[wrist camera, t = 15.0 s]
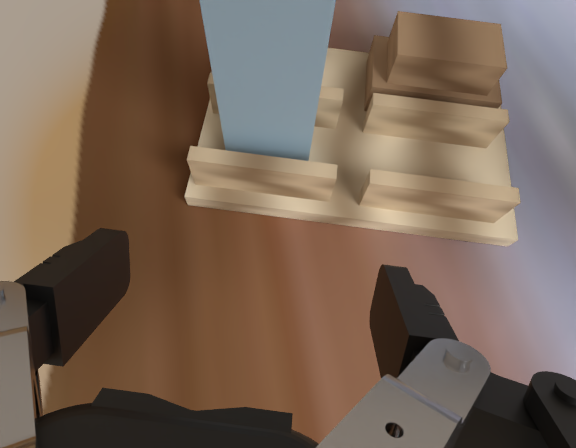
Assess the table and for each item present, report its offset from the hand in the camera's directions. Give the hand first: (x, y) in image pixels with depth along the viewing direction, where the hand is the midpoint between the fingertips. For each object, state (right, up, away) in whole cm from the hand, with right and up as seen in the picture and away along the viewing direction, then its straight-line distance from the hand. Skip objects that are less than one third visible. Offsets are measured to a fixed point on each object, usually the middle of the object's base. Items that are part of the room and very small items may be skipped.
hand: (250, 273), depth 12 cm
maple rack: (+6, +8, +17) cm, 20 cm away
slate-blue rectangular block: (0, +7, +15) cm, 16 cm away
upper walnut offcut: (+12, +13, +16) cm, 23 cm away
